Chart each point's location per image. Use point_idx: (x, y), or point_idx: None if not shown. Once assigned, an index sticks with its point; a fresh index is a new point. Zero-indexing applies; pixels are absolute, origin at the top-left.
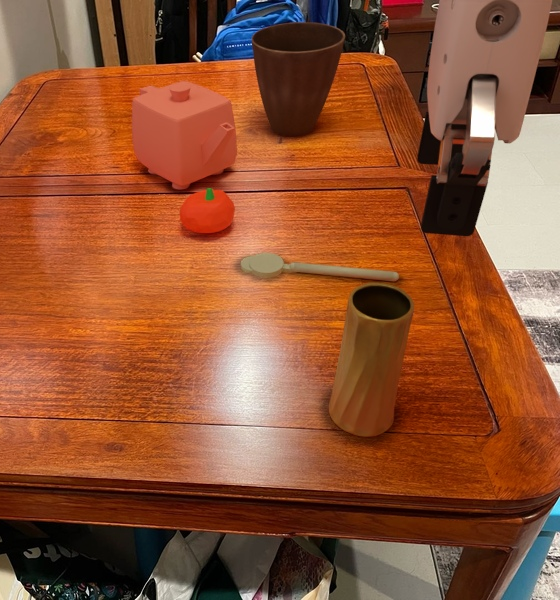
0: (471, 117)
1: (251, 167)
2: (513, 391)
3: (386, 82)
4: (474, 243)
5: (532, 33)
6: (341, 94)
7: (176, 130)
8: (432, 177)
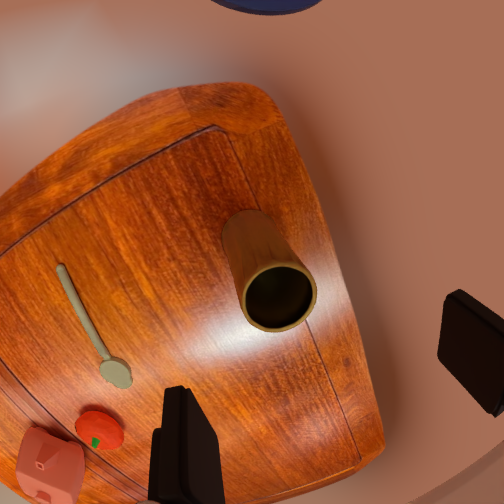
0: None
1: (18, 411)
2: (158, 122)
3: None
4: None
5: None
6: None
7: (72, 487)
8: (501, 412)
